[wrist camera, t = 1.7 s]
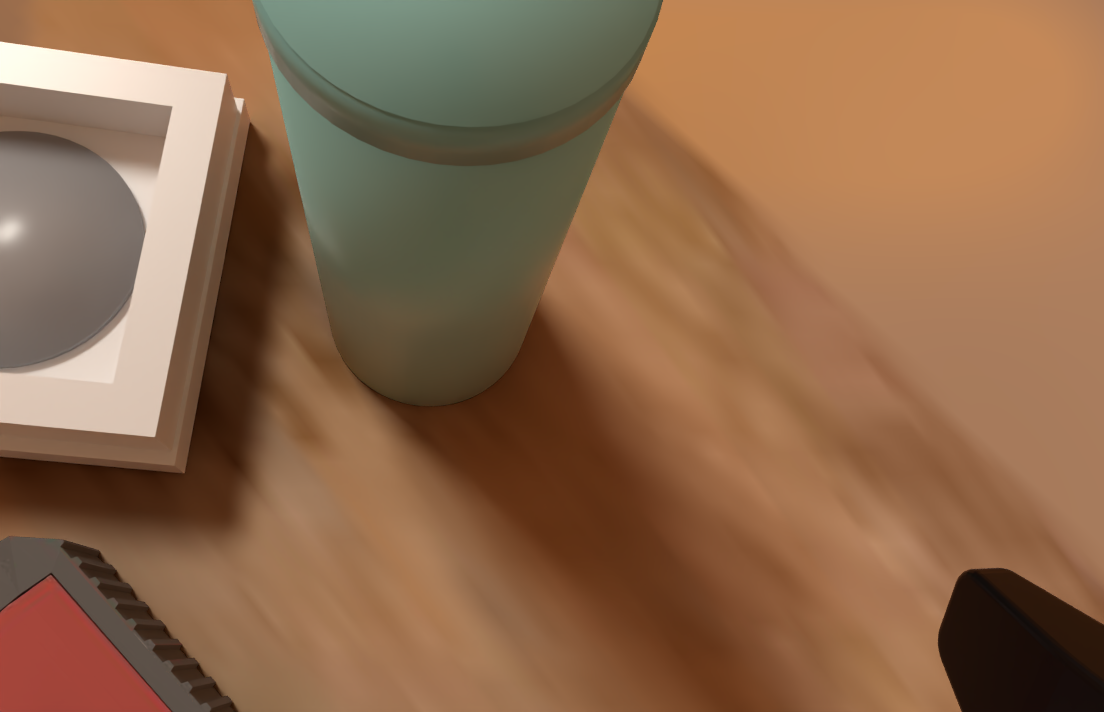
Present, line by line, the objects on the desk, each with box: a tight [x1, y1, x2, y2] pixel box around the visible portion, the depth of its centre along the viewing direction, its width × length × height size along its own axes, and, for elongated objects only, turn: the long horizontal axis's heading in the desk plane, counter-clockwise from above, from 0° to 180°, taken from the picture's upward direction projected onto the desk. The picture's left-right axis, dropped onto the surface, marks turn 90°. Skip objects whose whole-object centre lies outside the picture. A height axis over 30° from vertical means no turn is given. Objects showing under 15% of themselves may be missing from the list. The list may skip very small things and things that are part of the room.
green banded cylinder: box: [252, 0, 663, 406], centre depth 17 cm, size 5×5×13 cm
